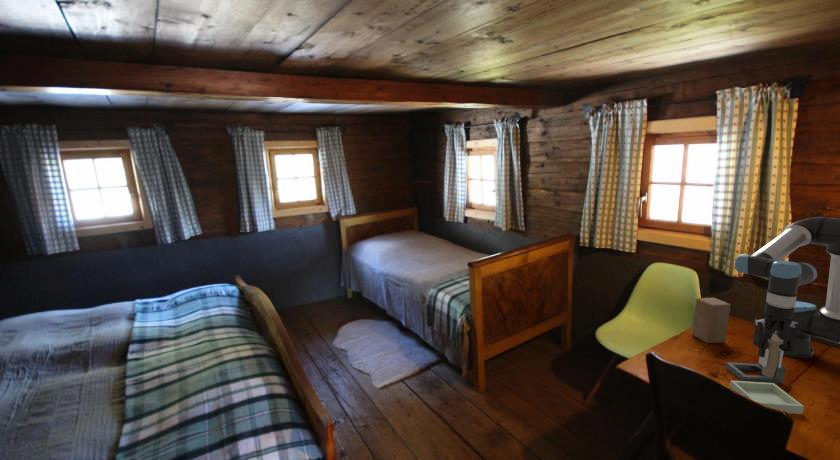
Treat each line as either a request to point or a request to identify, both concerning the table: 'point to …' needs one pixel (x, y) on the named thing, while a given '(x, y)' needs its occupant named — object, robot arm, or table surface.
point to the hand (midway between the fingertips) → (769, 365)
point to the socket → (736, 368)
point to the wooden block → (711, 320)
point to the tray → (767, 395)
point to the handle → (772, 356)
